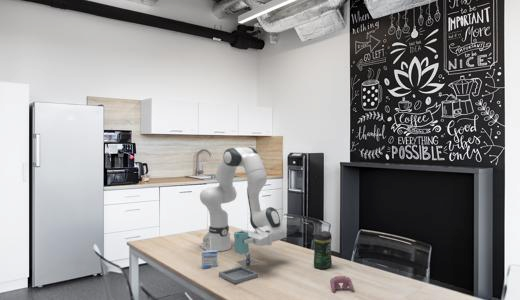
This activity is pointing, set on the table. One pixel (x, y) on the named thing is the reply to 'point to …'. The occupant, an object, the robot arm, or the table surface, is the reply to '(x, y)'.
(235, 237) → the tabbed sleeve
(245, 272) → the tray
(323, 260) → the coffee jar
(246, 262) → the stand
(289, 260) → the table surface
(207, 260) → the medicine box
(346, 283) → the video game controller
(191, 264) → the table surface
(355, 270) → the table surface
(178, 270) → the table surface
